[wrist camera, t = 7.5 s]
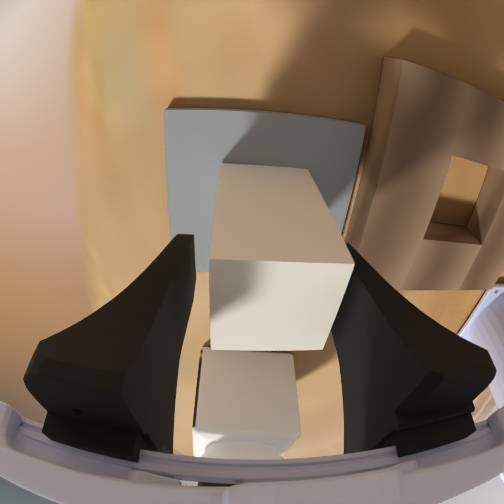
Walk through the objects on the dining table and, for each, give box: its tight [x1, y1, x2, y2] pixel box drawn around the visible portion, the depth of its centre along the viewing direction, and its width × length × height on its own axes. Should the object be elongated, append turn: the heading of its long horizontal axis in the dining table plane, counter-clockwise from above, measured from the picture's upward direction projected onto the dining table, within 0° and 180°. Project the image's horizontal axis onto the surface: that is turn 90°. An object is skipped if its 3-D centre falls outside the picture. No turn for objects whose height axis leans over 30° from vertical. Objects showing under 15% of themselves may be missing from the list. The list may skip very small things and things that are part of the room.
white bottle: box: [192, 347, 301, 487], centre depth 20 cm, size 7×7×12 cm
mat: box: [164, 108, 366, 272], centre depth 15 cm, size 9×9×1 cm
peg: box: [209, 163, 355, 351], centre depth 12 cm, size 4×4×7 cm
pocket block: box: [344, 57, 504, 290], centre depth 14 cm, size 12×12×2 cm
